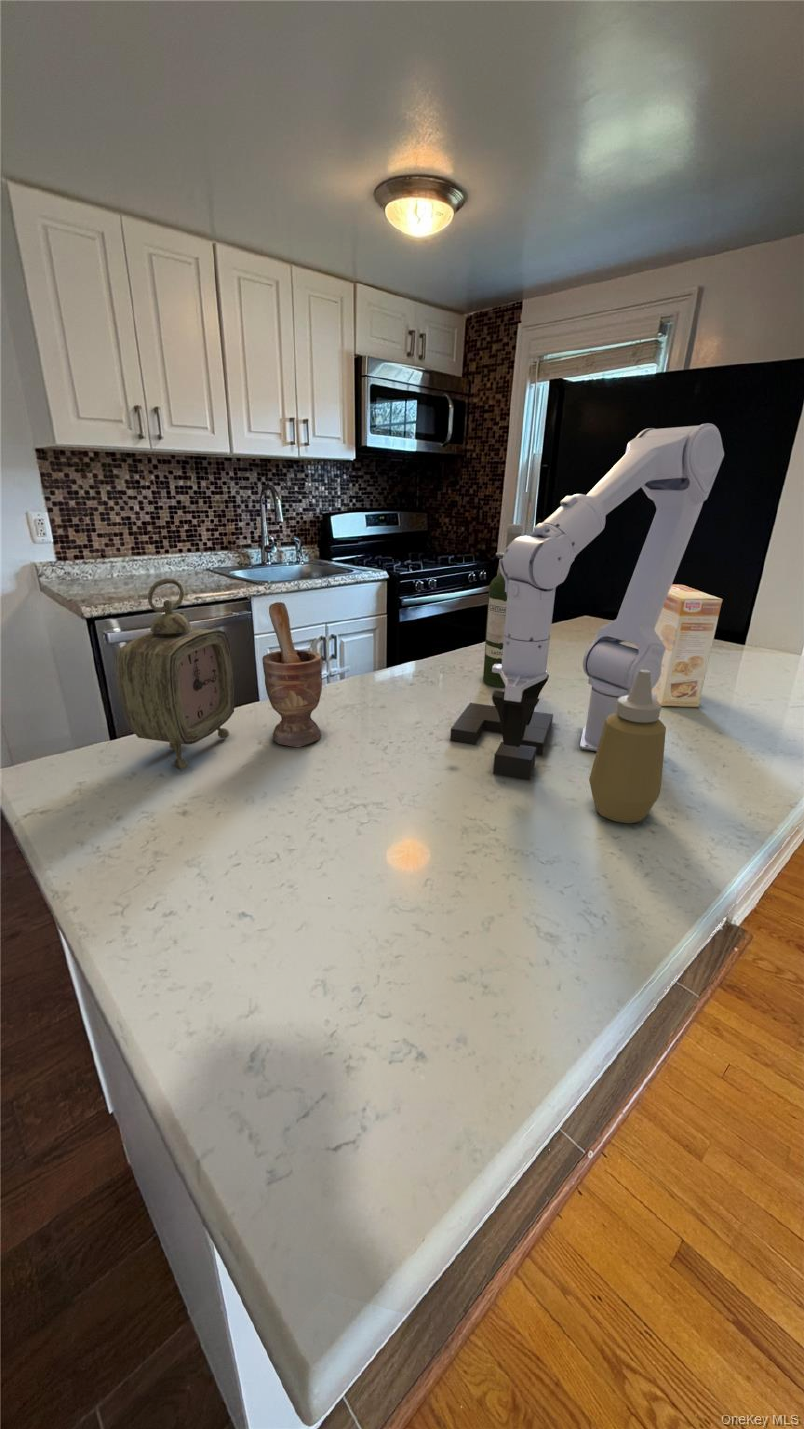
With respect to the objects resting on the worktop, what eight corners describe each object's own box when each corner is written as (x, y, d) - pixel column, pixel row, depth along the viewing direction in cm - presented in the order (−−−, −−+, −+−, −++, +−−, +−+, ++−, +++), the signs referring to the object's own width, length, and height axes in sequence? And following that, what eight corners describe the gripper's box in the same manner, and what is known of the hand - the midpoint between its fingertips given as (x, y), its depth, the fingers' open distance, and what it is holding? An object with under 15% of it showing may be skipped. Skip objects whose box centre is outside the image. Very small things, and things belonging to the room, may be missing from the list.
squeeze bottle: (652, 800, 72) (681, 664, 65) (657, 835, 65) (689, 687, 58) (586, 789, 74) (606, 657, 67) (583, 822, 67) (605, 678, 60)
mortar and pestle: (247, 731, 90) (234, 606, 83) (292, 716, 96) (283, 598, 88) (291, 754, 83) (281, 619, 75) (336, 736, 89) (331, 609, 81)
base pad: (551, 725, 94) (553, 714, 93) (541, 755, 83) (543, 743, 82) (469, 713, 98) (470, 702, 97) (450, 740, 88) (450, 728, 87)
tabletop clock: (184, 778, 76) (154, 590, 66) (127, 769, 78) (90, 585, 69) (240, 735, 89) (222, 572, 79) (190, 728, 91) (167, 569, 81)
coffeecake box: (700, 707, 102) (724, 598, 94) (660, 706, 102) (681, 598, 94) (665, 680, 115) (684, 583, 108) (630, 679, 116) (647, 583, 108)
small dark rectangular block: (534, 766, 80) (536, 747, 79) (529, 780, 76) (531, 760, 75) (499, 760, 82) (501, 741, 81) (493, 773, 78) (494, 754, 77)
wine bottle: (482, 686, 111) (492, 525, 99) (483, 674, 118) (493, 522, 107) (523, 689, 110) (538, 526, 98) (522, 676, 117) (536, 523, 105)
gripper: (506, 620, 79) (498, 710, 84) (482, 646, 67) (475, 750, 72) (558, 625, 77) (547, 717, 82) (543, 653, 64) (531, 759, 70)
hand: (517, 733), depth 77 cm, fingers open, 7 cm apart
